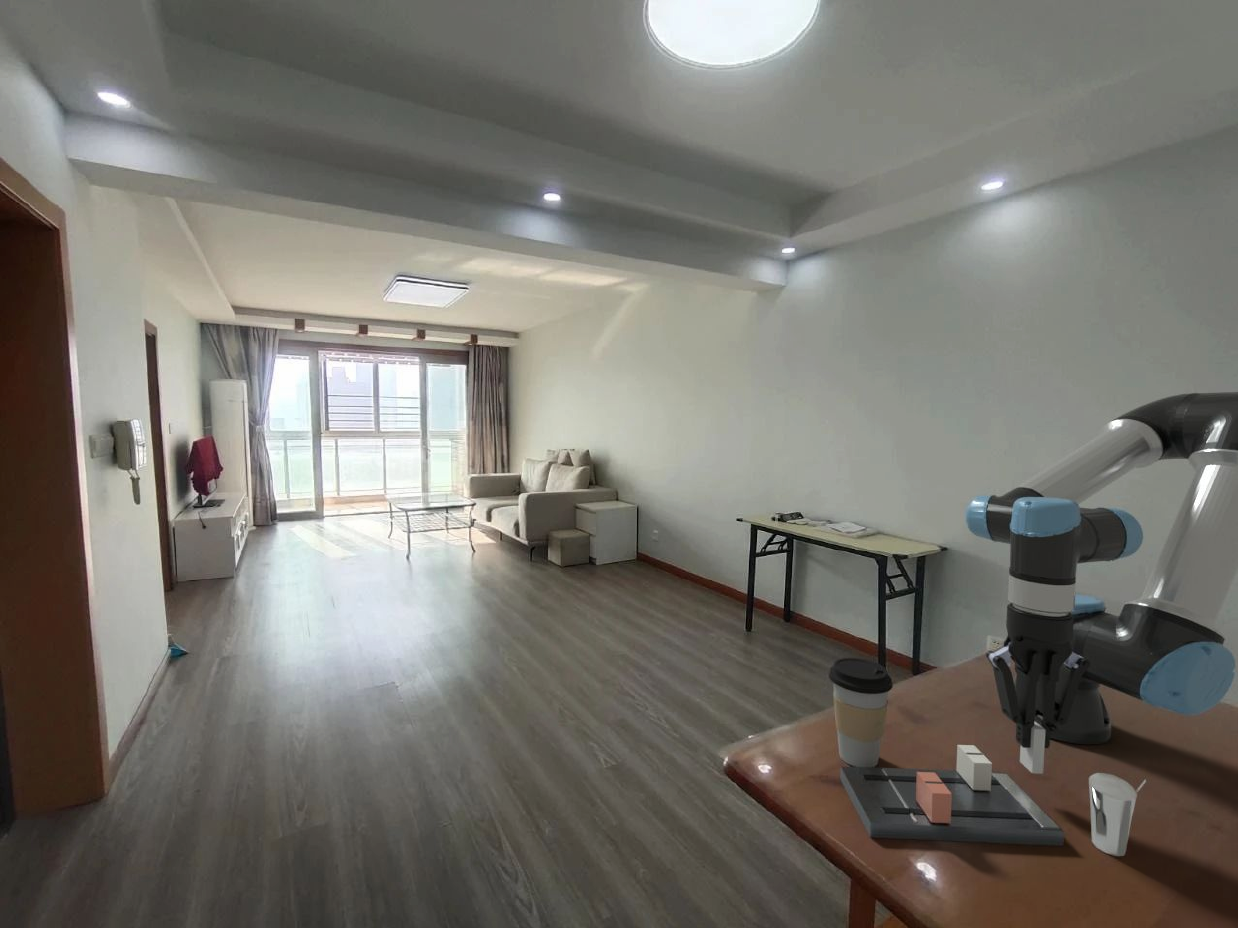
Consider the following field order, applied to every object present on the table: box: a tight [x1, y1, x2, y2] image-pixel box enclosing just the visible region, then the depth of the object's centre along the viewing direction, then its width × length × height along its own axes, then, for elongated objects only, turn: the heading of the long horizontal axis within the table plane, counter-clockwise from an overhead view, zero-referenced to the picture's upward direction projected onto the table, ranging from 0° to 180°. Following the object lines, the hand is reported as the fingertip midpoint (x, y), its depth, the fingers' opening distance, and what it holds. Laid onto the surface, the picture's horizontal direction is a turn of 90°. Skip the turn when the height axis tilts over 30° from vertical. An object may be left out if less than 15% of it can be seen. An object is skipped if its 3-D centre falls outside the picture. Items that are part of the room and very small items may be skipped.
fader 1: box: [916, 772, 952, 823], centre depth 74 cm, size 2×4×4 cm, turn 176°
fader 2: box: [955, 744, 993, 791], centre depth 81 cm, size 2×4×4 cm, turn 176°
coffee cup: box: [828, 657, 894, 768], centre depth 89 cm, size 9×9×15 cm
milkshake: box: [1088, 772, 1147, 857], centre depth 70 cm, size 4×5×10 cm
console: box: [839, 765, 1065, 847], centre depth 78 cm, size 24×12×2 cm, turn 86°
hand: (1031, 767), depth 80 cm, fingers closed
